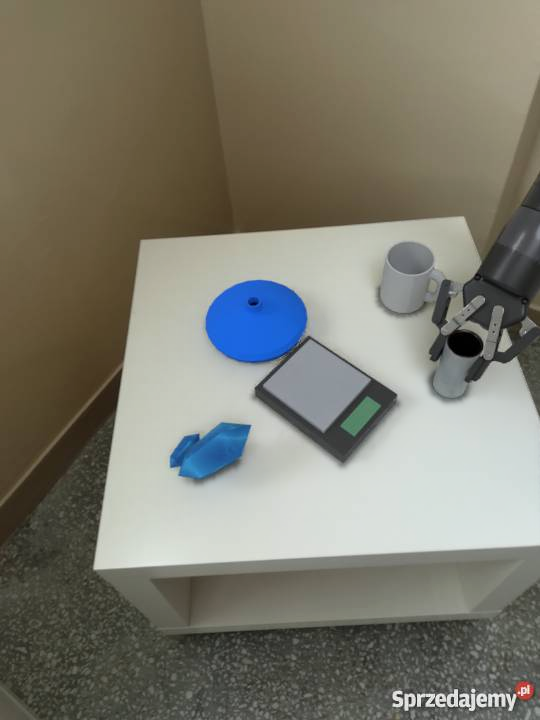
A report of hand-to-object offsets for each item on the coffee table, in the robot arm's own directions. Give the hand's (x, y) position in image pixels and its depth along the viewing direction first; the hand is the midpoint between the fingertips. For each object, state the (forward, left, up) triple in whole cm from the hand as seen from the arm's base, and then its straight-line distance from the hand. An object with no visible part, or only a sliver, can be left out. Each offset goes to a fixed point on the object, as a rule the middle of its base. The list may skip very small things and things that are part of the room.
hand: (450, 370), depth 70 cm
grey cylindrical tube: (0, -2, -6) cm, 7 cm away
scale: (+12, +11, -6) cm, 18 cm away
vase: (+28, +8, -6) cm, 30 cm away
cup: (+13, -12, -6) cm, 19 cm away
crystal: (+17, +28, -6) cm, 34 cm away
